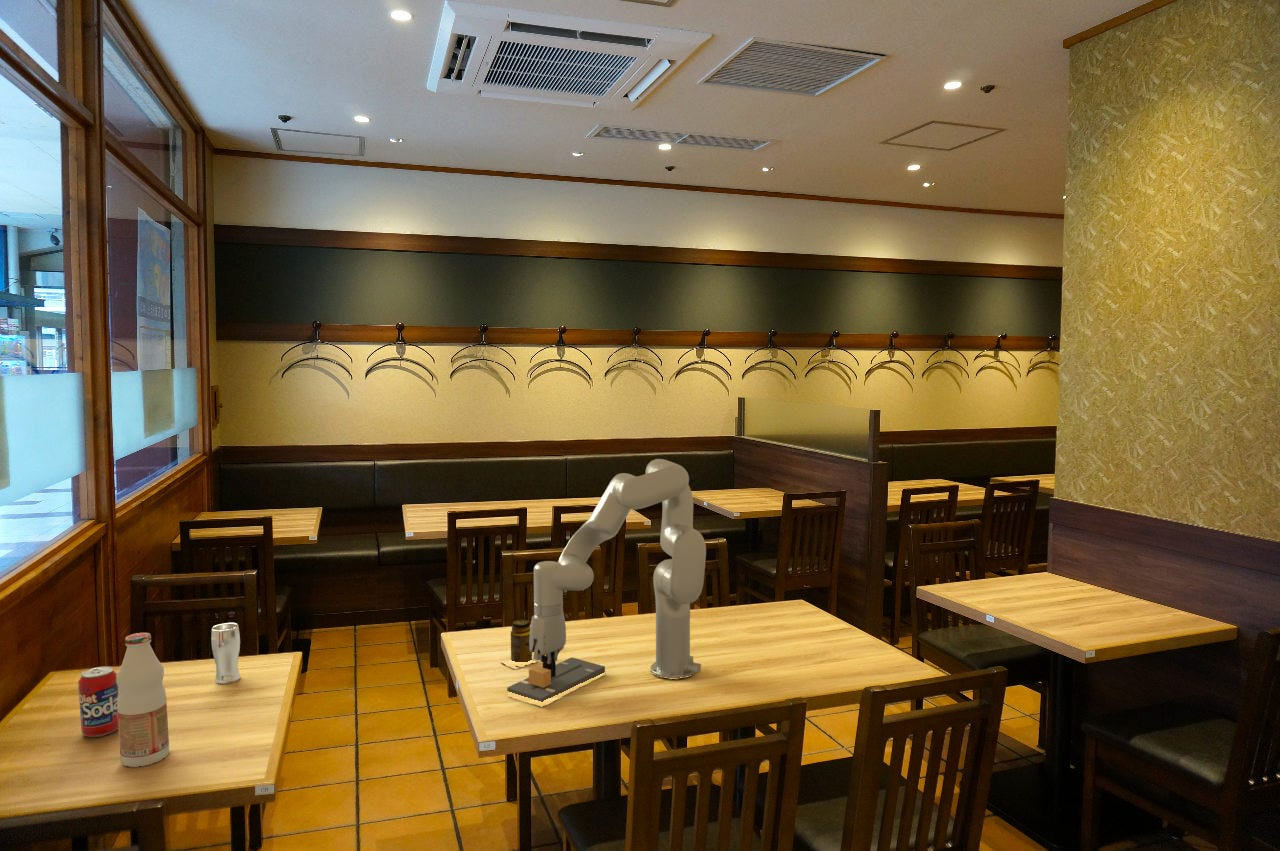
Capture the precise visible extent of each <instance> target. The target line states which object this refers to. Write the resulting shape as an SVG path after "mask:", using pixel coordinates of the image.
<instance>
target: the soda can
mask: <svg viewBox="0 0 1280 851" xmlns="http://www.w3.org/2000/svg"><path fill="white" fill-rule="evenodd" d="M116 675H117V672H116V671H115V669H114V667H113V666H110V665H109V666H108V665H104V666H97V667H91V668H89V669H86V670H84V671H82V672H81V676H80V677H79V679H78V681H77V684H78V686H77V687H78V688H77V689H78V699H79V702H78V703H79V713H80V714H79V715H80V727H81V734H82V735H83V736H86V737H89V738H99V737H100V738H101V737H106V736H108V735H110V734H112V733H114V732H115V731H116V730H119V727H118V712H117V699H118V695H119V692H120V691H119V688H118V686H117V682H116Z"/></svg>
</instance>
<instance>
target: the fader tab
mask: <svg viewBox="0 0 1280 851" xmlns="http://www.w3.org/2000/svg"><path fill="white" fill-rule="evenodd" d="M528 678H529V684H532V685H536V686H539V687H542V688H544V687H546V686H548V685H550V684H551V670H549V669H546V668H543V666H538V665H535V666H533V667H531V668H529V669H528Z"/></svg>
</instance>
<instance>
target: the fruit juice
mask: <svg viewBox="0 0 1280 851" xmlns="http://www.w3.org/2000/svg"><path fill="white" fill-rule="evenodd" d="M151 642H152V635H151V633H149V632H136V633H133V634H129V635H127V636H126V637H125V638H124V643H125V646H126V651H125V653H124V657H123V659H122V664H121V665H120V667H119V668H118V670H117V672H116V673H117V675H116V682H117V686H118V690H119V695H118V699H117V712H118V727H119V728H118V739H119V740H118V741H119V755H120V762H121V764H122V765H123V766H124V765H125V767H127V766H129V768H140V767H139V766H142V767H146V766H145V765H147V766H149V764H150V765H154V764H156V763H158V762H161V761H162V760H163V758H164V759H165V758H166V757H167V756H168V754H169V752H170V737H169V723H168V722H169V721H168V705H167V701H168V700H167V692H166V689H165V686H164V685H163V681H164V676H165V670H164V666H163V664H162V662H160V660H159V659H158V657H157V656H156V654H155V651H154V650H153V648H152V646H151ZM155 762H156V763H155ZM153 763H154V764H153Z"/></svg>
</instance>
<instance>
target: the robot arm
mask: <svg viewBox="0 0 1280 851" xmlns="http://www.w3.org/2000/svg"><path fill="white" fill-rule="evenodd" d="M689 482H690V476H689V473H688V471H687V470H686V468H684V466H682V465H680V464H678V463H675V462H672V461H670V460H667V459H663V458H655V459H653V460H651V461H650V462H648V464H646V468H645V474H642V475H639V476H636V475H633V474H630V473H625V472H623V473H622V472H620V473H618V474H616V475H615V476H614V477H613V478H612V479H611V480H610V482H609V484H608V485H607V487H606V489H605V491H604V492H603V494H602V496H601V497H600V499H599V501H598V503H597V504H596V506H595V508H594V509H593V511H592V513H591V515H590V516H589V518H588V519H587V521H585V522H584V523H583V524H581V526H580V528H579V529H578V530H577V531H575V533H574V534H572V536H571V538H570V539H569V541H568V542H567V544H566V546H565V547H564V549H563V550H562V553H561V554H560V557H559V559H558V560H557V561H553V560H544V561H543V560H542V561H540V562H537V563H536V564H535V565H534V567H533V614H534V615H532V617H531V621H530V639H529V649H530V652H532V653H533V656H532V659H533V660H535V661H540V663H542V668H546V669H549V670H551V678H553V677H555V676H556V664H557V663H556V662H557V661H558V656H559V654H560V653H561V651H563V650H564V648H565V645H566V644H567V628H566V626H567V625H566V619H565V613H564V608H563V607H564V606H563V605H564V601H563V600H564V599H563V598H564V597H563V592H564V591H576V592H577V591H584V590H586V589H588V588H589V587H590V586H591V585H592V583H593V582H594V577H595V576H594V571H593V569H592V568H591V566H590V565H588V563H587V562H588V560H589V558H590V556H591V555H592V553H593V552H594V550H596V548H597V547H598V546H600V544H602V543H603V542H605V541H608V540H611V539H612V538H614V537H615V536H616V535H617V534H618V533H619V531H620V529H621V527H622V525H623V524H624V522H625V521H626V519H627V517H628V516H629V513H630V512H631V510H641V509H645V508H647V507H648V508H649V507H650V506H653V505H657V504H659V503H662V509H661V510H662V511H661V512H662V514H661V515H662V516H661V525H660V526H661V527H660V536H659V537H660V538H659V539H660V540H659V541H660V542H659V544H660V547H661V549H662V550H663V552H665V553H666V554H667V555H669V556H670V557H671V558H669V559H664V560H663V561H661V562H660V563H658V565H657V566H655V569H654V572H653V576H652V579H653V581H652V582H653V590H654V591H653V592H654V598H655V662H653V663H652V664H651V665H650V669H651V671H650V673H651V672H652V673H654V674H656V675H658V676H662V677H667V678H680V677H686V676H690V675H692V674H693V673H694V674H698V675H699V674H700V673H701V667H702V664H701V663H698V662H695V661H694V656H693V655H691V604H692V603H694V602H695V601H697V599H698V598H699V597H700V595H701V594H702V591H703V587H704V580H705V570H706V569H705V568H706V557H707V546H706V541H705V539H704V537H703V535H702V533H701V532H700V531H698V530H697V529H695V528H694V525H693V523H694V499H693V498H694V497H693V492H692V490H691V487H690V485H689ZM650 669H649V670H650ZM652 673H651V674H652ZM694 674H693V675H694ZM693 675H692V676H693ZM690 677H691V676H690Z"/></svg>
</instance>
